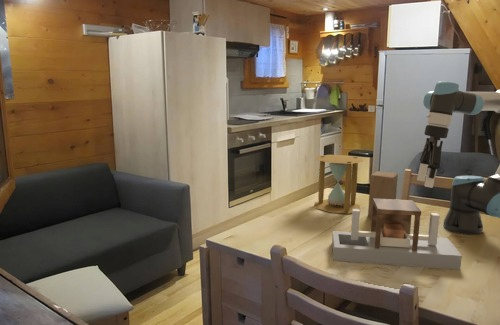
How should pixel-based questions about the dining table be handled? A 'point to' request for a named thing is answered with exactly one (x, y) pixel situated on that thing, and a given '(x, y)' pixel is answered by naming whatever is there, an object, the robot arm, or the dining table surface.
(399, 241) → the slider
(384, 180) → the wooden block
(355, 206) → the hourglass
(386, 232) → the block
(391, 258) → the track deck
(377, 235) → the tunnel
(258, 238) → the dining table surface
